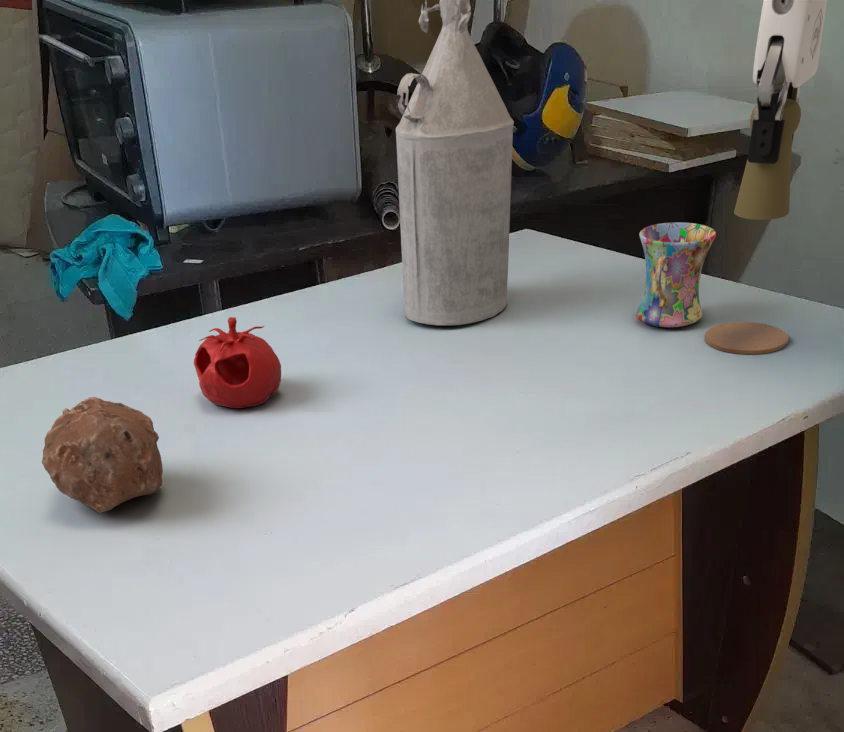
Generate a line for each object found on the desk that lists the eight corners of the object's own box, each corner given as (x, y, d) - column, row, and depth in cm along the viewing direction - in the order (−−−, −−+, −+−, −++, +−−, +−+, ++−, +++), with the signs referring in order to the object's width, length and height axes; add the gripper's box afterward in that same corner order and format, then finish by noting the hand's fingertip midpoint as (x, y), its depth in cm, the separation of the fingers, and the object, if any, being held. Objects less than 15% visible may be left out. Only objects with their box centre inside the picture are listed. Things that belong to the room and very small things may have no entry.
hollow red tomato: (240, 376, 125) (226, 297, 119) (301, 391, 120) (291, 310, 114) (182, 404, 119) (165, 323, 113) (244, 421, 114) (230, 338, 108)
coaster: (796, 331, 127) (796, 327, 127) (776, 359, 121) (777, 354, 120) (717, 322, 131) (718, 318, 131) (694, 348, 125) (694, 344, 124)
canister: (379, 321, 138) (351, -50, 112) (460, 286, 147) (451, -63, 121) (451, 339, 131) (439, -51, 105) (530, 301, 141) (537, -64, 114)
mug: (644, 305, 137) (652, 219, 130) (712, 312, 134) (724, 225, 127) (615, 335, 129) (622, 245, 122) (687, 343, 126) (698, 252, 119)
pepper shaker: (779, 222, 112) (798, 106, 105) (726, 217, 115) (740, 104, 107) (795, 207, 116) (814, 94, 109) (744, 202, 119) (759, 92, 111)
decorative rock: (177, 517, 98) (154, 417, 92) (59, 538, 96) (26, 438, 89) (164, 461, 108) (142, 367, 101) (56, 480, 106) (27, 385, 99)
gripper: (822, -47, 93) (785, 176, 105) (858, -61, 104) (821, 142, 116) (740, -45, 96) (713, 172, 108) (783, -59, 107) (755, 139, 119)
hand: (769, 154), depth 111 cm, fingers closed on pepper shaker, 5 cm apart
